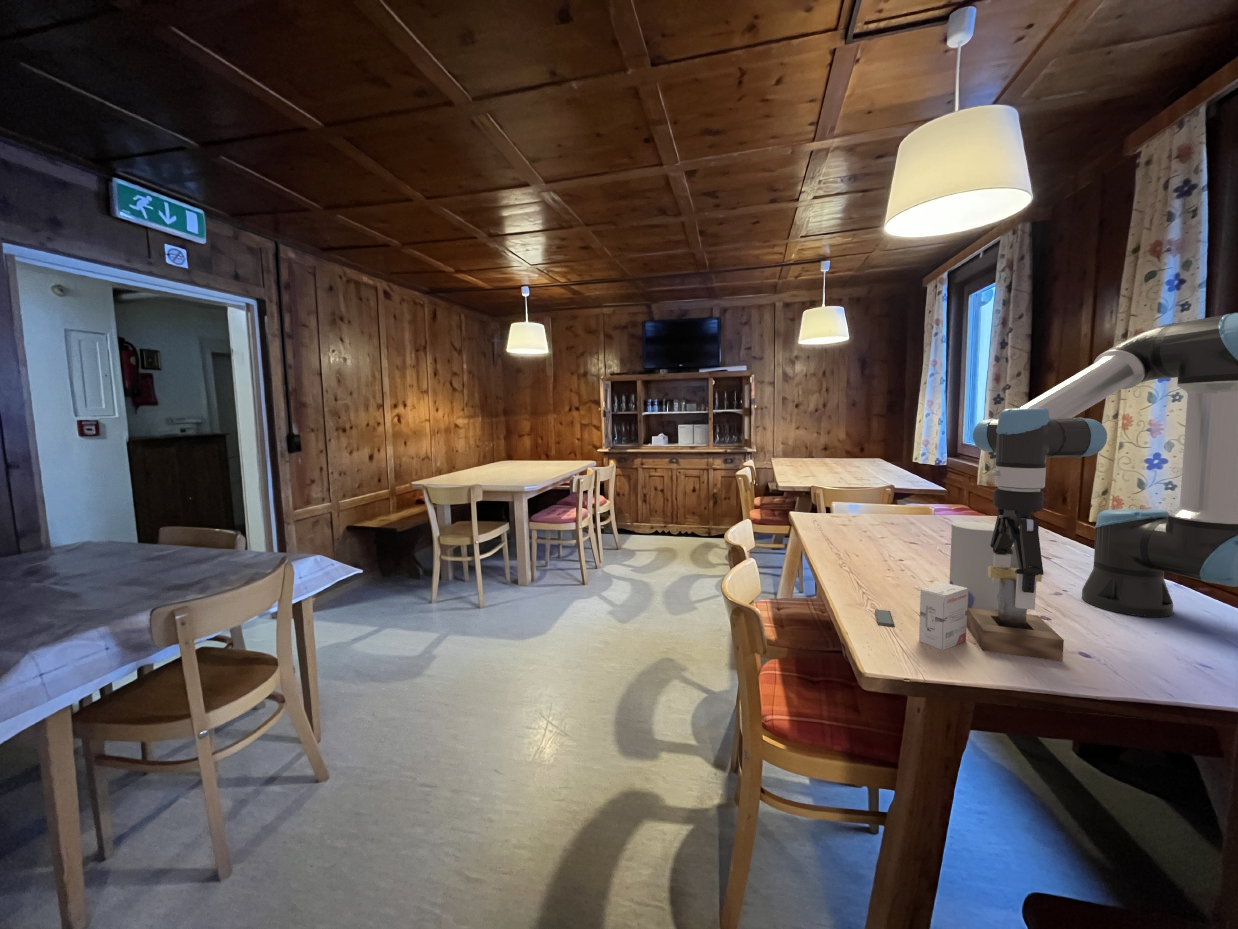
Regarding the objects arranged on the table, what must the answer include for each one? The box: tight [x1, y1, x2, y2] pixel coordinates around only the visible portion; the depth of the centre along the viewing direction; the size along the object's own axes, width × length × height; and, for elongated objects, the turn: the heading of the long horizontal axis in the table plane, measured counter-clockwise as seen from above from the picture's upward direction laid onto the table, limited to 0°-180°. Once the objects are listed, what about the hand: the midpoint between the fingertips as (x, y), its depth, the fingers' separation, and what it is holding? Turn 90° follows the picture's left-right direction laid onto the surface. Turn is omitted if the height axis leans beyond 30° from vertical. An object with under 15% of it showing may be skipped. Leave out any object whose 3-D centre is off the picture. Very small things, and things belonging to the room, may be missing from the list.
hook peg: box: [988, 566, 1043, 629], centre depth 97 cm, size 8×4×15 cm, turn 67°
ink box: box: [918, 582, 968, 651], centre depth 98 cm, size 9×5×12 cm, turn 118°
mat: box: [874, 608, 896, 628], centre depth 111 cm, size 8×8×1 cm
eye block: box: [966, 608, 1065, 662], centre depth 97 cm, size 12×12×5 cm
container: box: [949, 520, 999, 611], centre depth 117 cm, size 10×10×20 cm
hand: (1011, 596), depth 96 cm, fingers open, 13 cm apart
